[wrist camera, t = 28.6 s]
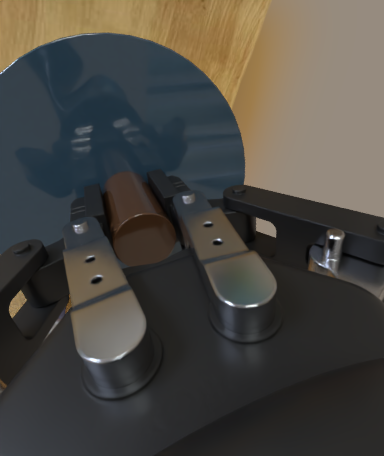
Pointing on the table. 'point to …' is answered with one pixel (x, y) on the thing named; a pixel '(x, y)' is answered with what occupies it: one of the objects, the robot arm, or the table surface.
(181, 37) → the table surface
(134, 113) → the lid
